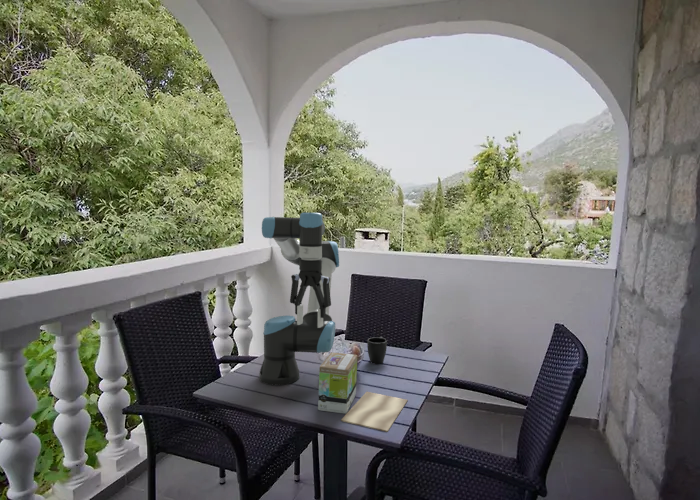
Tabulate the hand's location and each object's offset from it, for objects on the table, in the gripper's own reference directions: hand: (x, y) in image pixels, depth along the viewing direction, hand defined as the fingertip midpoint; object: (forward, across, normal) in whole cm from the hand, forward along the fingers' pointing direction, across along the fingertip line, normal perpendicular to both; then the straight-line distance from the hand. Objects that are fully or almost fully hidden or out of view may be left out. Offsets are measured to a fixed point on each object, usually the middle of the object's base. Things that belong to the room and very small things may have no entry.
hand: (310, 325), depth 142 cm
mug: (+25, +10, +43) cm, 51 cm away
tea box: (+25, +11, 0) cm, 28 cm away
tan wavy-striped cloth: (+25, +24, 0) cm, 35 cm away
